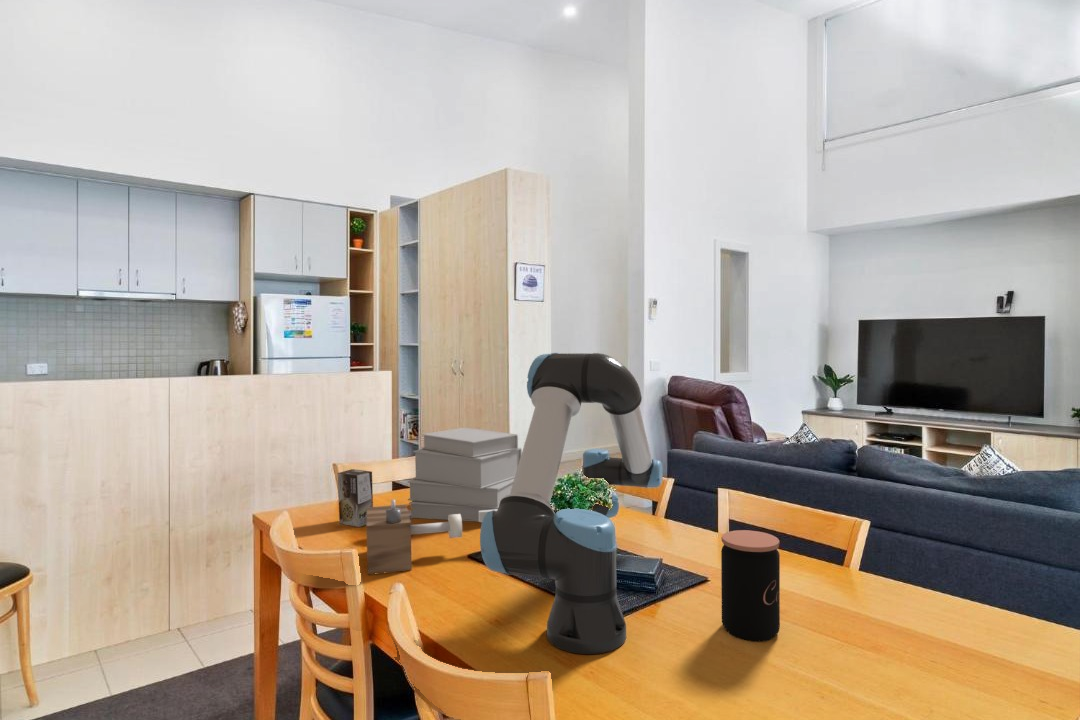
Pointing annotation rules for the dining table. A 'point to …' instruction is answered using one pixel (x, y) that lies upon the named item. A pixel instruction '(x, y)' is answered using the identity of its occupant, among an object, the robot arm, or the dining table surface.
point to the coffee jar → (750, 585)
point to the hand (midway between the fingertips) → (479, 516)
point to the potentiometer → (393, 514)
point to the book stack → (463, 473)
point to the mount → (388, 541)
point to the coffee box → (354, 496)
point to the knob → (441, 527)
